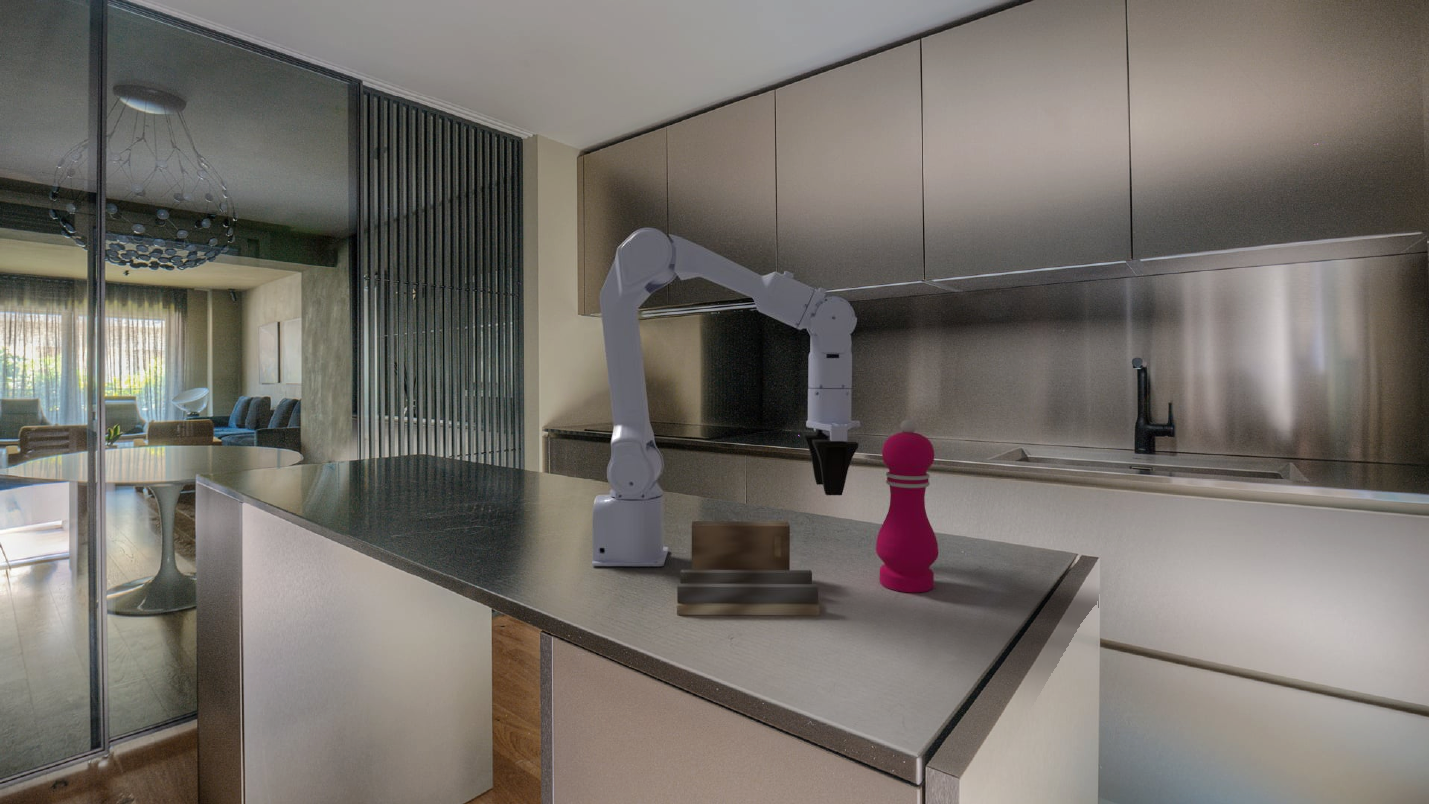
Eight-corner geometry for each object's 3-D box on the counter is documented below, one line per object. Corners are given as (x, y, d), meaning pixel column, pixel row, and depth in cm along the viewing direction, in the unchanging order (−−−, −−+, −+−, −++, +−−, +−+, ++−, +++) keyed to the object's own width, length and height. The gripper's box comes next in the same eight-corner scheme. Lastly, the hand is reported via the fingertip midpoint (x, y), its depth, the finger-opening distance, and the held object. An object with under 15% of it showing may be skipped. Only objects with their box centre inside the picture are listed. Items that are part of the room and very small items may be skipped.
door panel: (691, 583, 77) (691, 526, 77) (692, 576, 80) (692, 521, 80) (789, 583, 77) (790, 526, 77) (787, 576, 80) (787, 521, 80)
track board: (676, 614, 67) (676, 588, 67) (681, 591, 74) (681, 568, 74) (819, 615, 67) (819, 589, 66) (810, 592, 74) (810, 568, 73)
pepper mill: (942, 596, 72) (944, 422, 71) (876, 592, 74) (878, 421, 73) (933, 576, 79) (935, 417, 78) (874, 573, 81) (875, 416, 80)
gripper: (872, 389, 77) (871, 500, 78) (848, 387, 92) (847, 480, 92) (814, 389, 77) (813, 500, 78) (800, 387, 92) (799, 480, 92)
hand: (828, 489), depth 85 cm, fingers open, 7 cm apart
